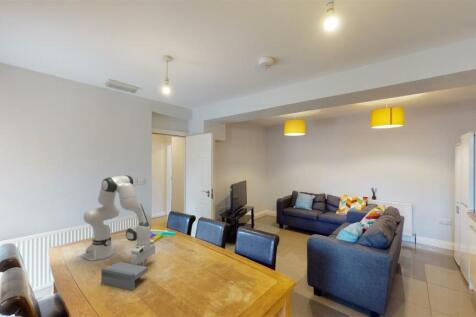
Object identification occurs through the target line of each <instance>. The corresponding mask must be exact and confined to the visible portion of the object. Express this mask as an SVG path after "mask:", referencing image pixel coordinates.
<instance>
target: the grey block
mask: <svg viewBox="0 0 476 317" xmlns="http://www.w3.org/2000/svg"><path fill="white" fill-rule="evenodd" d="M148 270H149V266H146V265H145V266H141V265H138V264H137V265H134V264H131V263H128V262H123V261H118V262H116V263H114V264H112V265H110V266H109V267H102V268H101V270H100V271H101V274H100V276H101V278H100V279H101V280H100V282H101V285H102V284H103V285H107V286H110V287H116V288H120V289H124V290H129V291H134V290H135V287H136V286H135V285H136V282H135V281H136V280H137V279H139V278H140V277H141V276H143V275H144V274H146V273H147V272H148Z"/></svg>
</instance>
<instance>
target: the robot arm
mask: <svg viewBox="0 0 476 317" xmlns="http://www.w3.org/2000/svg"><path fill="white" fill-rule="evenodd" d="M117 193H118V197H119V204H120V206H121V208H122V209H124V210H126V211H130V212H134V213H135V214H136V218H137V220H138V224H137V225H133V226H131V227H128V228H127V230H126V232H125V237H126V239H127V241H129V242H132V241H137V243H136V245H135V246H133V248H132V249H131V250H130V252H131V255H130V264H134V265H138V264H140V266H145V267H146V265H147V262H148V258H150V257H152V256H153V255H155V253H156V245H155V243H154V242H151V240H150V235H151V229H152V227H151V224H149V221H148V219H147V215H146V212H145V210H144V207H143V205H142V203H140V202H139V200H138V197H137V194H136V193H137V192H136V190H135V187H134V179H133V177H132V176H130V175H116V176H112V177H106V178H104V179H103V180H102V182H101V186H100V190H99V193H98V194H99V195H98V197H97V201H98V204H100V205H101V206H100V207H96V208H92V209H88V210H86V211H85V212H84V214H83V220H84V222H85V223H87V224H88V225H90V226H91V227H92V229H93V239H91V242H92V243H91V244H90V245H89V246H87V248H86V249H85V253H84V254H82V255H81V257H82V258H83V259H86V260H88V261H90V262H93V261H97V260H104V259H106V258H109V257H111V256H113V255H114V253H113V252H114V249H113V246H112V245H113V243H112V236H111V227H110V226H109V225H107V224H105V223H104V221H107V220H112V219H114V218H115V219H116V218H117V217H118V216H119V214H120V208H119V206H118V205H116V204H115V200H116V199H115V198H116V194H117Z"/></svg>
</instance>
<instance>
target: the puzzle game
mask: <svg viewBox="0 0 476 317" xmlns="http://www.w3.org/2000/svg"><path fill="white" fill-rule="evenodd" d="M176 233H177V232H176V231H170V230H161V229H152V228H151V235H150V240H151V242H154V244H155V243H157V242H158V241H160V240H161V239H162V238H164V236H173V237H174V236H176V235H177V234H176ZM131 243H133V244H137V241H131Z"/></svg>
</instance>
